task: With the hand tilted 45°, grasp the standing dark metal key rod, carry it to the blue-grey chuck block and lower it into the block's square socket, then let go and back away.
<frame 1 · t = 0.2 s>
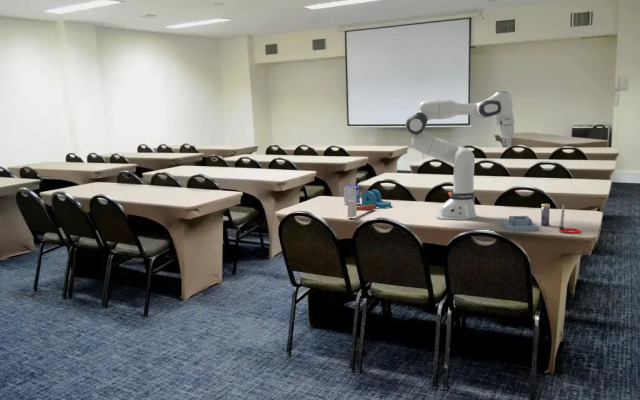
hand: (507, 146, 283), 39 cm above the table, tool pointing down, fingers open, 8 cm apart
chuck block: (520, 227, 261), on the table
key rod: (545, 225, 263), on the table
tow hook: (570, 232, 248), on the table
ink cartridge box: (352, 204, 351), on the table
mallet: (362, 215, 315), on the table
camera mount: (377, 207, 338), on the table
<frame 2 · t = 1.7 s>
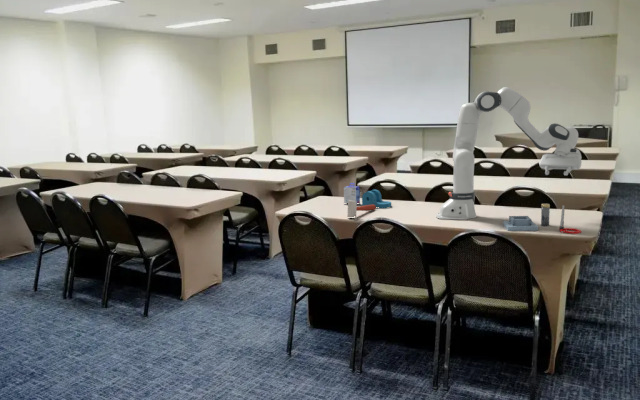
hand: (555, 174, 267), 25 cm above the table, tool tilted 45°, fingers open, 8 cm apart
nothing on the table moved.
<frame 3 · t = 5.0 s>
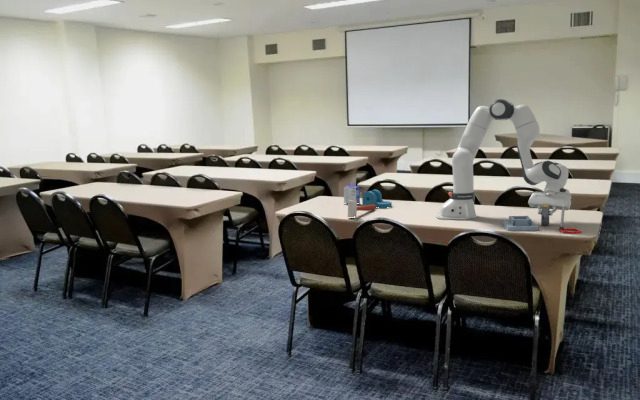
hand: (544, 214, 262), 6 cm above the table, tool tilted 45°, fingers closed on key rod, 4 cm apart
key rod: (545, 225, 263), on the table, touching gripper
everything else where it was.
when the fingers open (9 cm above the table, at t = 9.0 s): key rod drops 1 cm, resting on chuck block.
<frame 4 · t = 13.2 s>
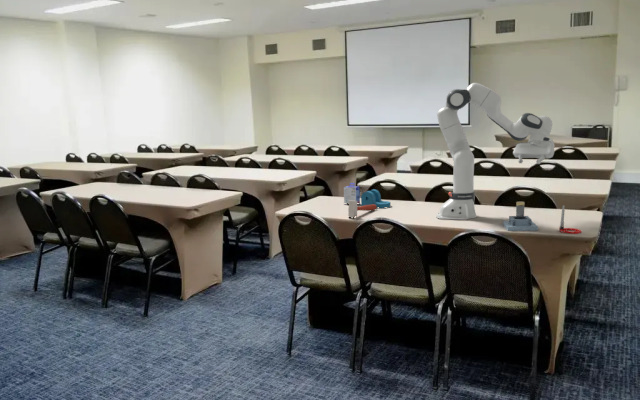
hand: (528, 162, 268), 31 cm above the table, tool tilted 45°, fingers open, 8 cm apart
key rod: (519, 223, 261), point 2 cm above the table, touching chuck block
everything else where it was.
at the end: key rod 0.1 cm off-centre on the chuck block, point 2.0 cm above the chuck block's base; key rod tilted 1°; the gripper is holding nothing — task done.
